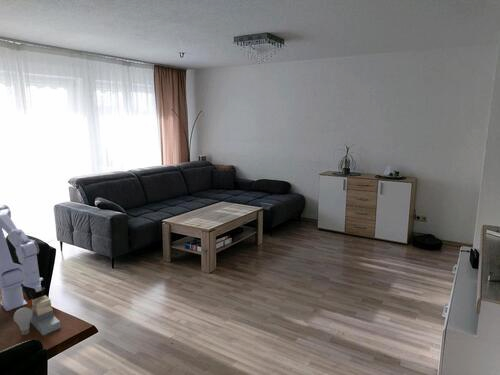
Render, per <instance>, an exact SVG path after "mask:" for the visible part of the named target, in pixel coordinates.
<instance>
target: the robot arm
mask: <svg viewBox="0 0 500 375" xmlns="http://www.w3.org/2000/svg"><path fill="white" fill-rule="evenodd" d="M3 230H4V231H5V233H7V235H8V236H7V239H8V241H9V242H10V243H11V244H12V246H13V247H14V248H15V254H16V257H17V258H18V263H15V262H14V261H13V258H12V255H11V252H10V249H9V246H8V243H7V240H6V237H5V233H4V231H3ZM39 252H40V248H39V245H38V243H37V242H36V240H34V239H31V238H29V237H28V236H27V234H26V233H25V231H23V230H22V229H20V228H19V229H18V227H17V226H16V224H15V223H14V221H13V220H12V213H11V208H10V207H9V206H8V205H6V204H3V205H0V293H1V299H2V301H1V302H0V305H1V307H2V308H4V310H5V311H6V312H9V311H12V310H13V309H17V308H21V307H22V306H25V305H28V301H29V300H30V301H31V300H34V299H36V298H39V297H42V296H44V293H45V292H46V288H45V286H43V287H42V285H41V283H42V281H44V278H43V277H40V271H39V264H38V256H37V255H39ZM19 263H20V264H19ZM23 292H24V293H25V295H26V298H27V300H28V301H26V299H24V293H23Z"/></svg>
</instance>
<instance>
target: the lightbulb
mask: <svg viewBox="0 0 500 375" xmlns="http://www.w3.org/2000/svg"><path fill="white" fill-rule="evenodd" d="M32 316H33V313H32V310H31V309H29V307H26V306H25V307H19V308H18V309H16V311H15V312H14V313H13V320H14V323H16V324H17V325H18V326H19V330H20V332H21V335H22V336H27V335H29V334H30V326H31V324H30V323H31V322H30V321H31V319H32Z"/></svg>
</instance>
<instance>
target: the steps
mask: <svg viewBox="0 0 500 375" xmlns="http://www.w3.org/2000/svg"><path fill="white" fill-rule="evenodd" d="M28 308H29V307H28ZM29 309H31V310H32V313H33V316H32V319H31V321H30V323H31V325H32V326H34V328H35V329H36V330H37V331H38V332H39V333H40V334H41V335H42V336H45V335H47V334H50V333H51V332H54V331H57V330H59V329H61V326H62V324H61V321H60V320H59V319H58V318H57V317H56V316H55V314H54V309H53V308H52V311H50V312H48V313H45V314H43V315H40V316H37V315H36V314H35V313H34V312H33V306H32V307H30V308H29Z"/></svg>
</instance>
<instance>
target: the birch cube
mask: <svg viewBox="0 0 500 375" xmlns="http://www.w3.org/2000/svg"><path fill="white" fill-rule="evenodd" d="M51 301H52V300H51V299H50V298H49V297H48V296H47V295H46V294H45V295H43V296H42V297H39V298H36V299H34V300H33V299H31V303H32V307H33V312H34V313H35V314H36V315H37V316H40V315H43V314H45V313H48V312H50V311H52V309H53V308H52V302H51Z"/></svg>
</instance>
